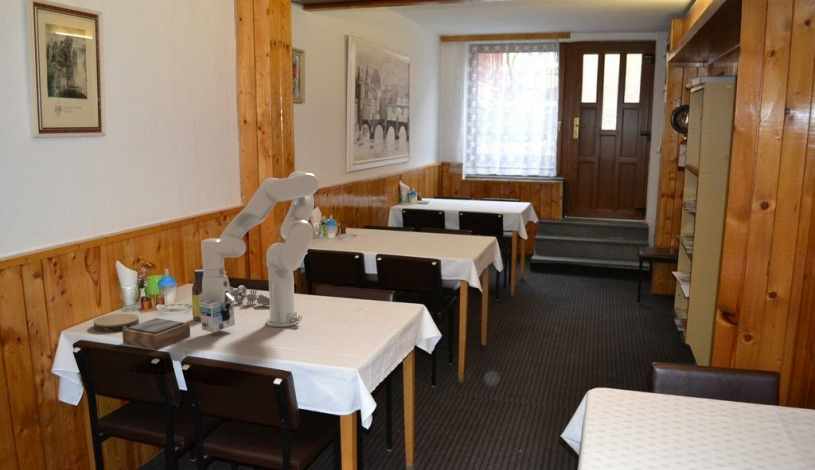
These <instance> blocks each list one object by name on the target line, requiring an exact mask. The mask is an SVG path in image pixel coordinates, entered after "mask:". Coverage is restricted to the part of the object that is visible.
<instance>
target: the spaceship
mask: <svg viewBox="0 0 815 470" xmlns="http://www.w3.org/2000/svg"><path fill="white" fill-rule="evenodd" d="M230 291H231V296H232V297H233V299H234V300H235V303H237V304H241V303H243V302H244V301H245V300H247V301H246V305H249V306H253V305H254V303H255V302H256V303H257V304H258V305H262V306H270V304H269V295H268V296H267V295H263V294H257V291H258V290H257V289H254V288H253V289H252V288H251V289H250V292H247V288H246V286H244V285H239V286H238V287H237V288H236V289H235V288H234V286H230Z"/></svg>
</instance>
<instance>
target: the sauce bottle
mask: <svg viewBox="0 0 815 470" xmlns="http://www.w3.org/2000/svg"><path fill="white" fill-rule="evenodd" d="M193 274H194V283H193V285H192V287H191V305H192V306H191V307H192V316H193V317H192V318H193V320H194V321H196V322H201V310H200V302H201V301H200V299H199V298H198V297H199V296H200V295H201V294H202V280H203V276H204V273H203V269H195V270H194V271H193Z"/></svg>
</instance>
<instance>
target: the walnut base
mask: <svg viewBox="0 0 815 470" xmlns="http://www.w3.org/2000/svg"><path fill="white" fill-rule="evenodd" d="M121 333H122V343H123V344H125V345H131V346H136V347H141V348H147V349H151V350H155V351H156V350H160V349H163V348H164V347H168V346H170V345H172V344H175V343H177V342H180V341H182V340H186V339H188V338H190V337H191V327H190V323H188V322H184V321H177V320H170V319H165V318H159V317H158V318H157V317H156V318H153V319H150V320H147V321H144V322H141V323H140V322H139V324H137V325H134V326H131V327H129V328H126V329H123V330H122V331H121Z"/></svg>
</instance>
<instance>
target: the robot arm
mask: <svg viewBox="0 0 815 470" xmlns="http://www.w3.org/2000/svg"><path fill="white" fill-rule="evenodd" d="M319 181H320V180H319V179H318V177H317V176H316V175H315V174H314V173H310V172H306V171H299V170H297V171H293V172H292V173H290V174H289V175H288V177H283V178H277V177H267V178H266V179H264V180H263V182H261V184H260V186H258V188H257V189H256V191H255V193H254V195H252V197H251V199H250V200H249V201H248V202H247V204H246V206H245V207H244V208H242V210H241V211H239V213H238V214H237V215H236V216H235V217H234V218H233V219H231V221H229V223H228V224H227V225H226V227H225V228H224V230H223V232H222V233H221V235H220V236H219V237H217V238H215V237H212V238H205V239H203V240H202V241H201V242H200V243H201V245H200V246H201V259H202V270H203V273H204V276H203V280H202V294H201V295H200V296H199V297H198V298H199V299H200V301H201V302H202V301H205V300H208V301H215V302H219V303H220V304H221V306H222V308H223V311H222V317H223V321H227V320H229V319H230V314H229V309H230V308H231V306H232V305H234V303H236V301H235V298H234V296H231V291H230V287H231V286H230V282H229V278H228V276H227V275H226V274H227V270H225V259H224V258H240V257H241V256H243V255H244V254H245V253H246V252H247V251H246V250H247V245H246V242H245V241H244V240H243V239H242V238H243V237H244V236H245V235H246V233H247V232H248V231H249V230H250V229H252V228H254V227H256V226H258V225H260V224H261V223H264V221H265V220H266V219H267V217H268V216H269V214H270V212H271V211H272V210H273V208H274V207H275V205H276V204H277V203H278V202H280V203H281V202H287V201H291V204H290V206H289V210H288V212H287V214H286V216H285V218H284V220H283V222H282V224H281V226H280V235H281V237H282V238H283V240H285V242H276V243H273V244H271V245H270V246H269V247H268V248H267V251H266V255H265V257H266V258H265V259H266V260H265V261H266V266H267V272H268V297H269V304H270V305H269V318H268V317H267V318H266V320H265V323H266V324H265V325H267V326H270V327H275V328H285V327H286V328H287V327H291V326H294V325H295V326H296V325H297V324H298V323H300V322H302V320H303V315H299V314H298V311H297V310H295V279H294V278H295V277H294V271H296V270H298V268H299V267H300V266H301V265H302V262H303V261H304V259H305V256H306V254H307V252H308V250H309V248H310V246H311V244H312V241H313V239H314V228H313V226H312V224H311V223H310V222H309V221H310V218H311V216H312V213H313V211H314V208H315V207H314V205H315V199H314V194H315V193H316V192H317V191H318V190H319V186H320V182H319ZM224 300H225V302H224ZM227 300H228V301H229V303H228V301H227ZM225 304H226V306H225Z"/></svg>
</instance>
